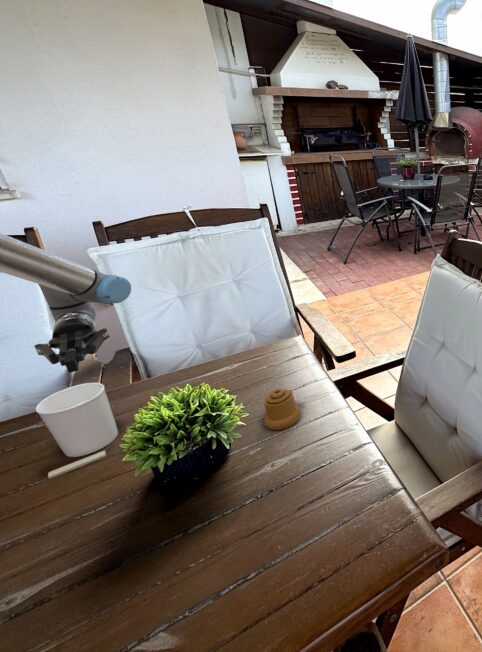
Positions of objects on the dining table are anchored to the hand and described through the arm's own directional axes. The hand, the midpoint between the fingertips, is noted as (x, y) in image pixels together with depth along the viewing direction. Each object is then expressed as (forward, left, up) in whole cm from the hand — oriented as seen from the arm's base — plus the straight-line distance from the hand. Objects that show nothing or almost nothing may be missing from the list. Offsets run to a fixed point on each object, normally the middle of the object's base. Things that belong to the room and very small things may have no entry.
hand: (71, 366), depth 90 cm
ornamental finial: (+43, -18, -13) cm, 49 cm away
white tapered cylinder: (+5, -12, -13) cm, 18 cm away
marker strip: (+6, -18, -13) cm, 24 cm away
